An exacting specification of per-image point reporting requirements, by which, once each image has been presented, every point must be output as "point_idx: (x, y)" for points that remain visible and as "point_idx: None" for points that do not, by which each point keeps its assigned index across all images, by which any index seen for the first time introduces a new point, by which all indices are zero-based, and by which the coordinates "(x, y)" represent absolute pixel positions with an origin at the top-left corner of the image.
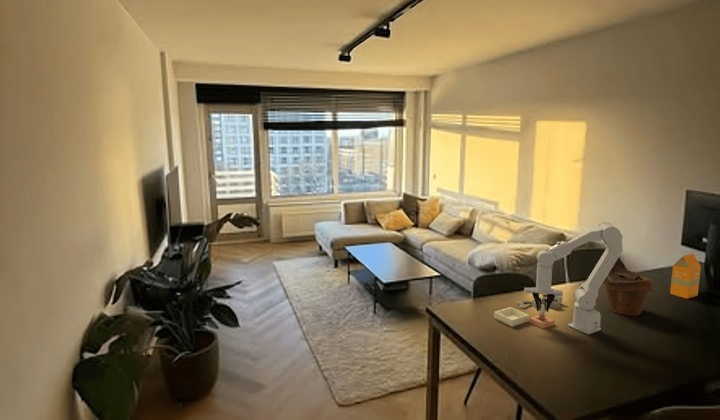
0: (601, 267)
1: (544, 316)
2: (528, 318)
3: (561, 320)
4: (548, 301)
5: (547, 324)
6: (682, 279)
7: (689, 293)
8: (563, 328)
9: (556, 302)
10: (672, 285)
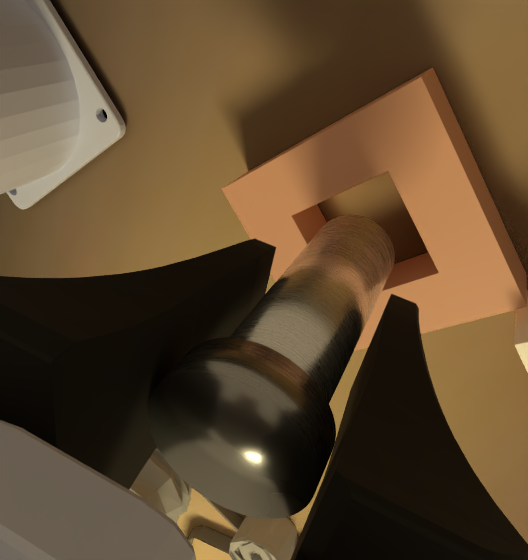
0: None
1: (327, 228)
2: (525, 313)
3: (156, 254)
4: (143, 312)
5: (341, 119)
6: None
7: None
8: (184, 66)
9: None
10: None
